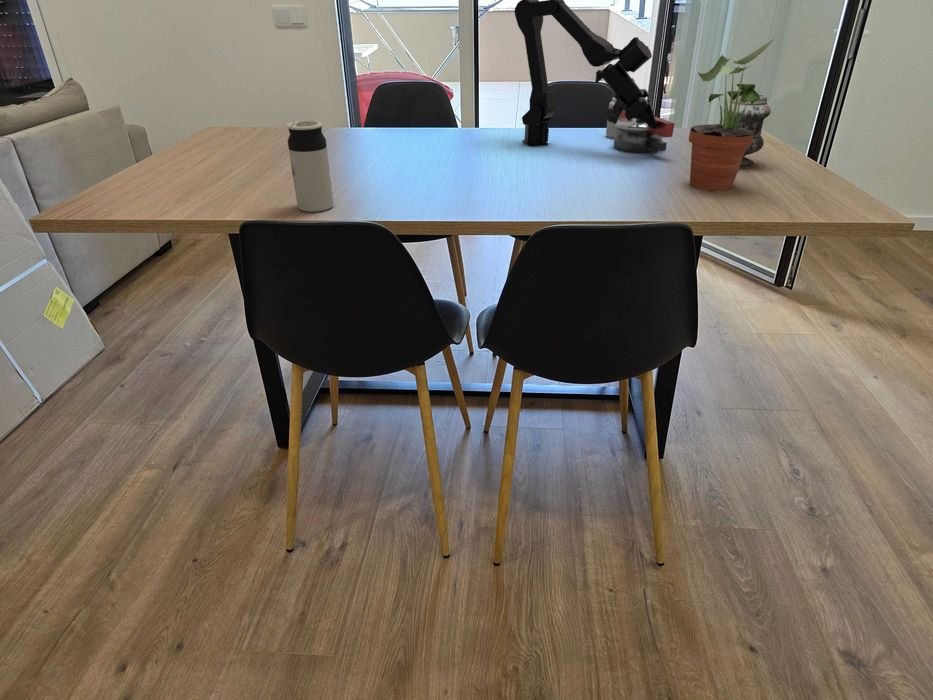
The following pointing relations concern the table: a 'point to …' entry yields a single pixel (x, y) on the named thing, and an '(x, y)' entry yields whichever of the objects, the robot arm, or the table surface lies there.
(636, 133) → the dark grey curved piece
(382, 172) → the table surface
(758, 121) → the weathered urn vase
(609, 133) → the can
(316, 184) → the travel mug
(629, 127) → the lid
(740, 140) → the potted plant
